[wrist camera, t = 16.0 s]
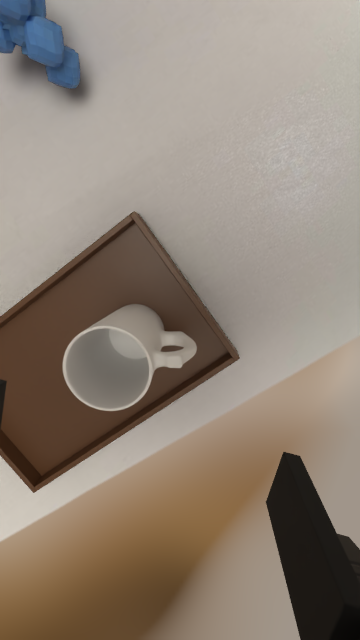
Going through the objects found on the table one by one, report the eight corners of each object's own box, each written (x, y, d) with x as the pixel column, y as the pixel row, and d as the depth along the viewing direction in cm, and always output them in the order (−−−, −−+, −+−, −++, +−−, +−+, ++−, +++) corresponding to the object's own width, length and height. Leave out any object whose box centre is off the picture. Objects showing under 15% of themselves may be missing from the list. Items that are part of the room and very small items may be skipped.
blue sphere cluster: (-21, 26, 32) (-151, -107, 20) (31, -26, 30) (-74, -200, 19) (56, 132, 33) (-22, 67, 21) (108, 86, 32) (56, -9, 20)
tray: (138, 213, 34) (134, 210, 32) (237, 351, 37) (240, 358, 34) (-56, 366, 39) (-73, 373, 37) (43, 479, 41) (33, 493, 39)
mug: (108, 361, 37) (67, 411, 26) (103, 302, 36) (57, 327, 24) (198, 359, 37) (197, 410, 25) (196, 299, 35) (194, 323, 24)
